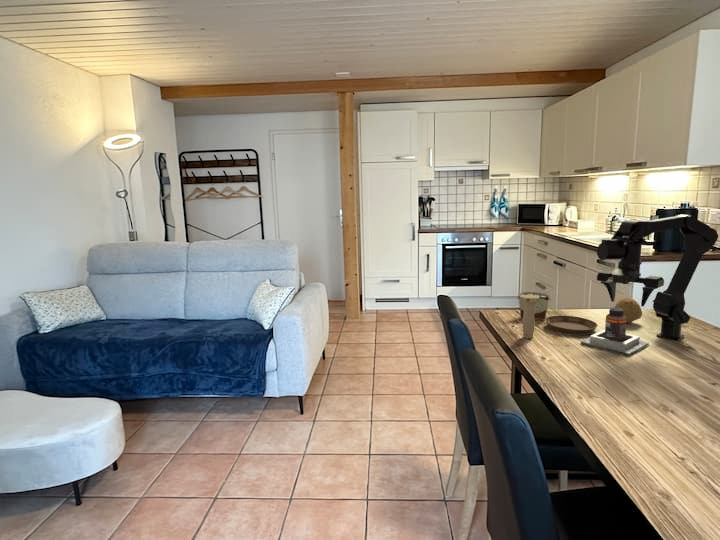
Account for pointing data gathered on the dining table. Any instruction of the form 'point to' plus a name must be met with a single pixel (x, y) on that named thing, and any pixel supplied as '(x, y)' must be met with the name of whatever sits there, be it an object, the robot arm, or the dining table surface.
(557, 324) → the plant saucer
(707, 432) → the dining table surface
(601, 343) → the grey square tray
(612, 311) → the supplement bottle
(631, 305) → the natural sponge
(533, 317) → the handle
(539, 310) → the food container
